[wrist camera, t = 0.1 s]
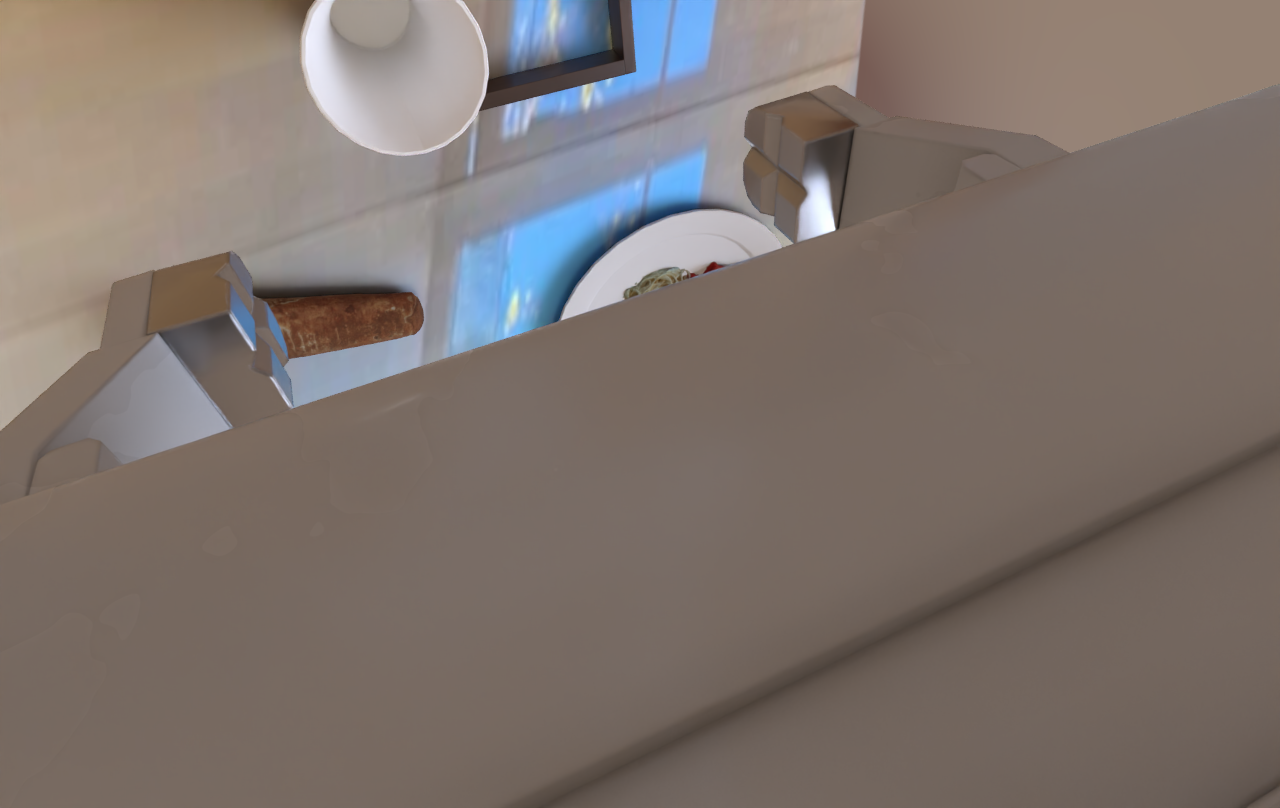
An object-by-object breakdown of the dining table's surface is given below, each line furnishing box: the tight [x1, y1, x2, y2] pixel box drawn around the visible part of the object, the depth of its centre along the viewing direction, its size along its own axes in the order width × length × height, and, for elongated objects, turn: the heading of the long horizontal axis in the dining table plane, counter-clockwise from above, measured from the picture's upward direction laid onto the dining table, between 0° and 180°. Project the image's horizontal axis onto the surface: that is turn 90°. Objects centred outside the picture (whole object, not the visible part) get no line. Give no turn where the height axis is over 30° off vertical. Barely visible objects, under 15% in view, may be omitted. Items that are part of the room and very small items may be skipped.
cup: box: [300, 0, 489, 156], centre depth 45 cm, size 10×10×14 cm
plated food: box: [559, 209, 783, 321], centre depth 81 cm, size 30×30×3 cm
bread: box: [262, 292, 424, 359], centre depth 61 cm, size 6×19×6 cm, turn 77°
